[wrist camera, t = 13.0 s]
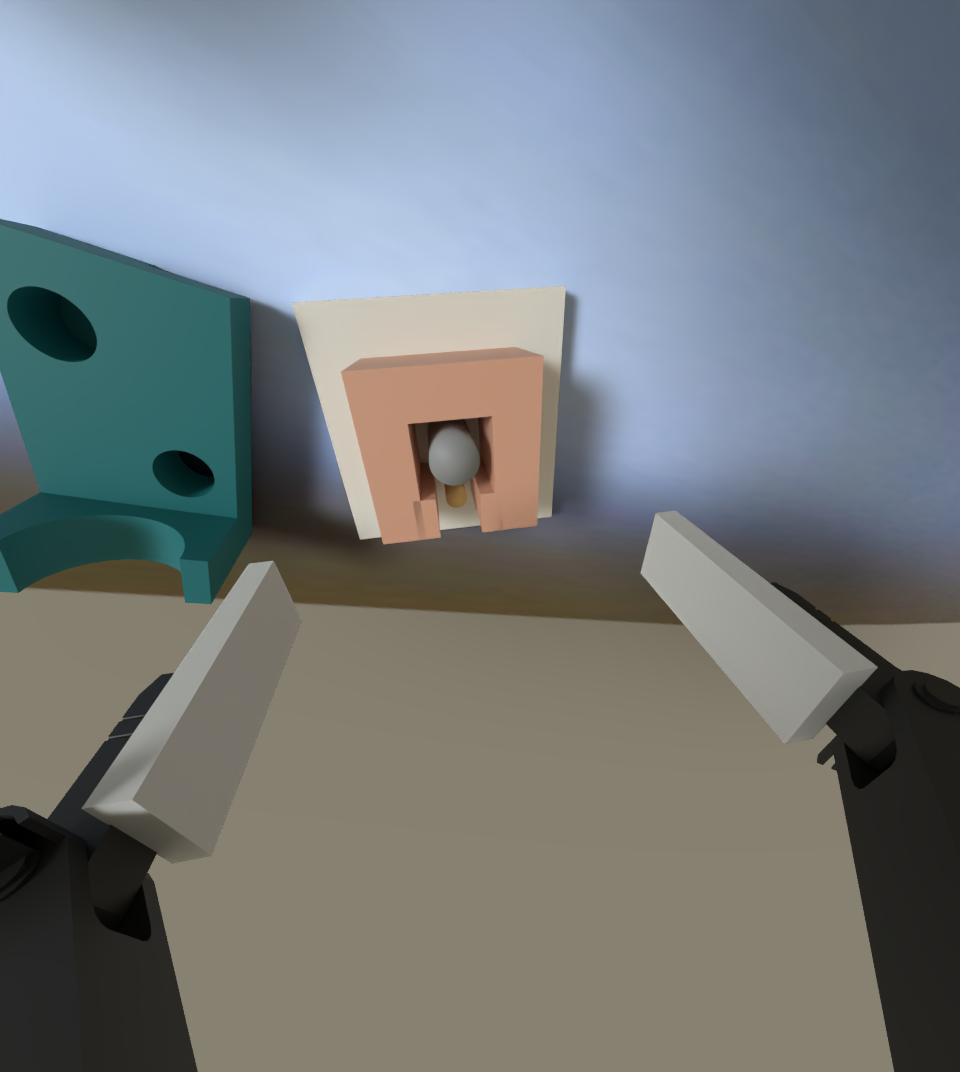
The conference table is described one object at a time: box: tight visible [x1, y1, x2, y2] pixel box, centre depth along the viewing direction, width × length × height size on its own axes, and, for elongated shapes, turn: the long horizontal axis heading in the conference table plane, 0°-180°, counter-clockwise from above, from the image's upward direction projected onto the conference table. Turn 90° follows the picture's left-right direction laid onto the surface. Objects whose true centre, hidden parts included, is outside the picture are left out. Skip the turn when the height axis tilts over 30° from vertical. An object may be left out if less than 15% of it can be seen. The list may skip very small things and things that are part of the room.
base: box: [292, 286, 566, 540], centre depth 25 cm, size 18×18×8 cm
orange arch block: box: [341, 347, 544, 544], centre depth 25 cm, size 11×11×7 cm
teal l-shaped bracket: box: [0, 219, 252, 604], centre depth 22 cm, size 18×11×10 cm, turn 162°
